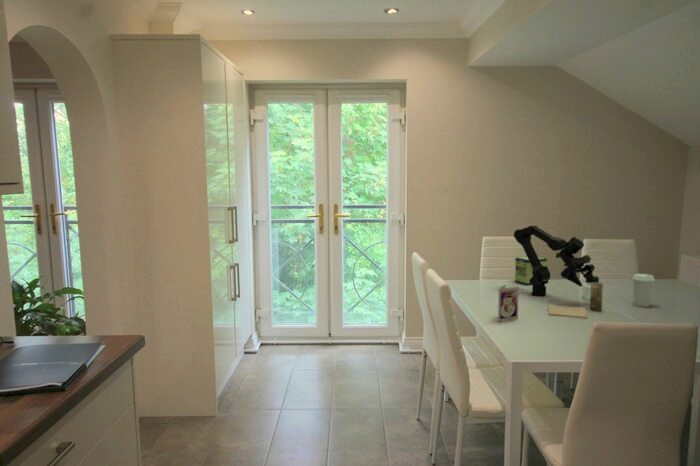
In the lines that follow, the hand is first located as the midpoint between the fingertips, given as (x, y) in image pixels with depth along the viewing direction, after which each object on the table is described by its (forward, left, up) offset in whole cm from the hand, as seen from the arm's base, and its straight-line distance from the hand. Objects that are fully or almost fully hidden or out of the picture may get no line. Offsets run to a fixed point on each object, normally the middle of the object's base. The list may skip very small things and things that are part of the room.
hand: (588, 285), depth 226 cm
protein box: (-27, +50, -12) cm, 58 cm away
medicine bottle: (+4, +20, -11) cm, 23 cm away
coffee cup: (+26, +14, -11) cm, 31 cm away
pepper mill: (+4, -3, -11) cm, 12 cm away
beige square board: (-9, -12, -11) cm, 19 cm away
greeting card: (-36, -33, -11) cm, 51 cm away
